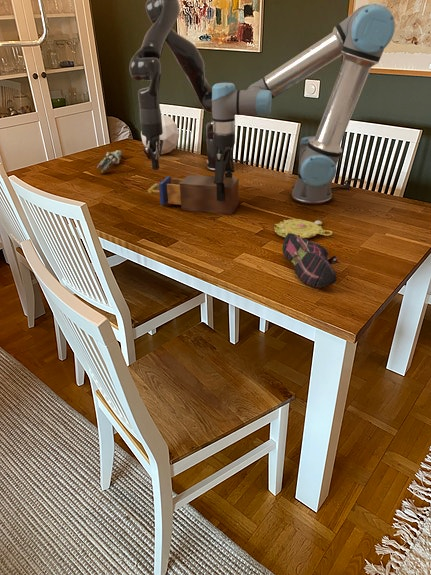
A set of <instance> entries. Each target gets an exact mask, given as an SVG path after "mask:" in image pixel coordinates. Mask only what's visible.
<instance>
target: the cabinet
mask: <svg viewBox="0 0 431 575" xmlns="http://www.w3.org/2000/svg"><path fill="white" fill-rule="evenodd" d="M183 179H184V180H183V181H182V182H181V183H180V196H181V205H180V209H181V211H186V212H187V211H188V212H198V213H208V214H218V215H227V216H232V215H233V214H234V212H235V211H236V209H237V207H238V206H239V182H240V181H239V180H240V179H239V177H232V178H229V177H225V176H224V186H225V201H217V185H216V183H214V180H215V175H213V176H212V175H199V174H188V175H187V176H186V177H184V178H183Z"/></svg>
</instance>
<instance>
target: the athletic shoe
mask: <svg viewBox="0 0 431 575" xmlns="http://www.w3.org/2000/svg"><path fill="white" fill-rule="evenodd" d="M285 236H286V237H284V240H283V243H282V254H283V255H284V258H285V259H286V260H287V261H289V262H290V263H292V264H293V266H294V271H295V272H294V273H295V274H296V276H297V277H298V278H299V280H300V281H301V282H302V283H303V284H305V285H307V286H311V287H316V288H324V287H327V286H332V285H333V284H335V283H336V281H337V278H338V277H337V273H336V271H335V269H334V268H333V265H335V264H341V262H339V261H338V260H339V259H338V258H337V256H336V255H332V256H331V257H329V252H328V250H327V249H326V248H325V247H324V246H322V245H321V244H319V243H317V242H315V241H311V240H308V239H307V238H305V239H303V238H300V236H297V235H296V234H293V233H288V234H287V235H285Z"/></svg>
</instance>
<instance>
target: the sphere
mask: <svg viewBox="0 0 431 575" xmlns="http://www.w3.org/2000/svg"><path fill="white" fill-rule="evenodd" d="M161 118H162V129H163V133H162V135H159V136H160V140H163V145H162V151H161V155H164V154H169V153H171V152H172V151H173V150H174V149H175V148H176V147H177V146H178V142H179V137H180V132H179V128H178V125H177V123H176V122H175V121H174V119H172V118H171V116H169V115H165V114H163V113H161ZM140 137H141V141H142V145H143V146H144V148H146V146H147V145H146V137H145V136H143V135H142V132H141V131H140Z"/></svg>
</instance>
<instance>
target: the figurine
mask: <svg viewBox="0 0 431 575" xmlns="http://www.w3.org/2000/svg"><path fill="white" fill-rule="evenodd" d="M122 153H123V152H122V150H115V151H111V152H110V151H107V152H106V153H105V155H106V156H104V157H103V158H102V159H101V161H100V162H99V163H98V165H97V167H96V169H97V170H100V173H101V174H104V173H105V172H106V171H107V170H108V169H109V168H110V167H111V166H112V165H119V164H120V160H121V158H122V157H123V154H122Z"/></svg>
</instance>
